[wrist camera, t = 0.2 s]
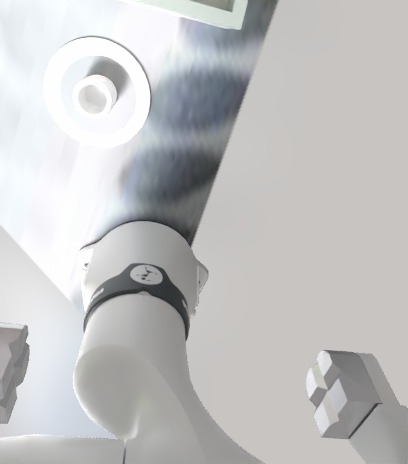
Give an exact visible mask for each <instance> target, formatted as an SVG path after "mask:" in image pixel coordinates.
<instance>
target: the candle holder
mask: <svg viewBox="0 0 408 464" xmlns="http://www.w3.org/2000/svg"><path fill="white" fill-rule="evenodd" d="M88 55H100V56H104V57H107V58H110V59H112V60H114V61H116V62H117V63H118V64H120V65H121V66H122V67H123V68H124V69H125V70H126V71H127V72H128V74H129V75H130V77H131V78H132V80H133V83H134V85H135V89H136V93H137V105H136V110H135V113H134V115H133V117H132V119H131V120H130V121H129V123H128V124H127V125H126V126H125V127H123V128H122V129H120V130H118V131H116V132H113V133H109V134H96V133H92V132H89V131H87V130H85V129H83V128H81V127H80V126H78V125H77V124H76V123H75V122H74V121H73V120H72V119H71V118H70V117H69V116H68V114H67V113H66V111H65V109H64V107H63V104H62V101H61V97H60V83H61V79H62V76H63V74H64V72H65V70H66V69H67V67H68V66H69V65H70V64H71V63H72V62H74V61H75V60H77V59H79V58H81V57H84V56H88ZM44 94H45V99H46V103H47V106H48V108H49V111H50V113H51V115H52V116H53V118H54V120H55V121H56V122H57V124H58V125H59V126H60V127H61V128H62V129H63V130H64V131H65V132H66V133H67V134H68V135H70V136H71V137H73V138H74V139H76V140H78V141H80V142H82V143H85V144H88V145H91V146H97V147H113V146H116V145H119V144H122V143H126V142H127V141H129V140H130V139H131V138H132V137H133V136H134V135H135V134H136V133H137V132H138V131H139V130H140V129H141V127H142V126H143V124H144V123H145V121H146V118H147V116H148V112H149V108H150V89H149V85H148V81H147V78H146V76H145V73H144V71H143V69H142V68H141V66H140V65H139V63H138V62H137V61H136V59H135V58H134V57H133V56H132V55H131V54H130V53H129V52H128V51H126V50H125V49H124V48H122V47H121V46H119V45H117V44H116V43H113V42H111V41H108V40H105V39H101V38H92V37H89V38H81V39H77V40H74V41H71V42H69V43H67V44H66V45H64V46H63V47H61V48H60V49H59V50H58V51H57V52H56V53H55V54H54V56H53V57H52V59H51V60H50V62H49V64H48V66H47V69H46V72H45V77H44ZM116 99H117V92H116V88H115V86H114V84H113V83H112V82H111V81H110V80H109V79H108V78H106V77H105V76H102V75H91V76H88V77H87V78H85V79H83V80H81V81H80V82H79V83H78V84H77V85H76V87H75V88H74V91H73V101H74V104H75V106H76V108H77V109H78V111H79V112H80V113H81V114H83V115H84V116H86V117H88V118H92V119H98V118H102V117H104V116H105V115H107V114H108V113H109V111H110V110H111V109H112V108H113V106H114V105H115V103H116Z"/></svg>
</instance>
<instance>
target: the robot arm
mask: <svg viewBox="0 0 408 464" xmlns="http://www.w3.org/2000/svg"><path fill="white" fill-rule="evenodd" d="M85 263H88V265H86V264H85ZM78 266H79V274H80V281H81V288H82V295H83V302H84V309H85V319H84V337H83V340H82V344H81V347H80V351H79V354H78V358H77V361H76V365H75V368H74V372H73V386H74V391H75V394H76V397H77V399H78V401H79V403H80V405H81V406H82V408H83V410H84V411H85V413H86V414H87V415H88V416H89V418H90V419H91V420H92V421H93V422H95V423H96V424H97V425H99V426H100V427H102V428H103V429H105V430H107V431H108V432H109V433H111V434H112V435H114V436H115V437H116V438H117V439H105V438H91V437H76V436H62V435H47V434H30V435H21V436H13V437H5V438H0V464H264V463H263V462H262V461H260V460H259V459H257V458H256V457H254V456H253V455H251V454H250V453H248V452H247V451H246V450H244V449H243V448H242V447H240V446H239V445H238V444H237V443H235V442H234V441H233V440H232V439H231V438H230V437H229V436H228V435H227V434H226V433H225V432H224V431H223V430H222V429H221V428H220V427H219V426H218V424H217V423H216V422H215V421H214V420H213V418H212V417H211V416H210V414H209V413H208V412H207V410H206V409H205V407H204V406H203V404H202V403H201V401H200V399H199V398H198V396H197V394H196V392H195V390H194V388H193V385H192V382H191V380H190V375H189V368H188V361H187V353H186V340H187V338H188V332H189V327H190V318H191V319H193V318H194V316H195V311H196V310H195V309H194V308H195V306H198V302H199V294H200V292H201V290H202V288H203V287H204V285H205V283H206V281H207V279H208V270H207V268H206V267H205V266H203V264H201V263H200V262H199V261H198V260H197V259H196V258H195V256H194V254H193V252H192V250H191V248H190V246H189V244H188V243H187V241H186V240H185V239H184V238H183V237H182V236H181V235H180V234H179V233H178V232H176V231H175V230H173V229H171V228H170V227H168V226H165V225H162V224H159V223H155V222H149V221H137V222H130V223H126V224H123V225H121V226H118V227H116V228H115V229H113V230H111V231H110V232H109V233H107V234H106V235H105V236H104V237H103V238H102V239H101V240H100V241H99V242H97V243H95V244H92V245H89V246H87V247H84V248H83V249H81V250H80V251H79V253H78ZM27 336H28V327H27V326H26V325H18V324H10V323H0V424H7V423H8V421H9V419H10V416H11V413H12V410H13V407H14V405H15V402H16V399H17V395H16V387H17V386H18V385H20V384H21V383H22V382H23V380H24V377H25V374H26V370H27V366H28V361H29V345H28V344H27V343H26V339H27ZM317 361H318V363H317V364H315V365H313V366H312V367H311V368H310V369H309V372H308V373H307V379H306V389H307V394H308V397H309V400H310V401H311V402H312V403H313V404H314V405H315V406H316V410H315V412H314V416H315V420H316V423H317V426H318V429H319V432H320V435H321V437H325V438H338V439H349V442H350V444H351V445H352V446H353V447H354V448H355V450H356V451H357V452H358V454H359V455H360V456H361V457H362V459H363V460H364V461H365V462H366V464H408V408H407V407H406V406H403V405H400V404H399V402H398V400H397V398H396V397H395V394H394V392H393V391H392V389H391V387H390V385H389V383H388V381H387V379H386V377H385V375H384V373H383V372H382V369H381V367H380V365H379V363H378V361H377V359H376V358H375V357H374V356H373V355H372V354H365V353H354V352H346V351H331V350H323V351H321V352H320V353H319V354H318V356H317Z"/></svg>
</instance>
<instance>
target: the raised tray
mask: <svg viewBox="0 0 408 464" xmlns="http://www.w3.org/2000/svg"><path fill="white" fill-rule="evenodd" d="M120 1H124V2H128V3H131V4H135V5H139V6H142V7H146V8H150V9H153V10H157V11H161V12H165V13H168V14H172V15H176V16H179V17H183V18H187V19H190V20H194V21H198V22H202V23H205V24H209V25H213V26H216V27H220V28H224V29H241V27H242V23H243V19H244V15H245V11H246V7H247V3H248V0H120Z"/></svg>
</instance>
